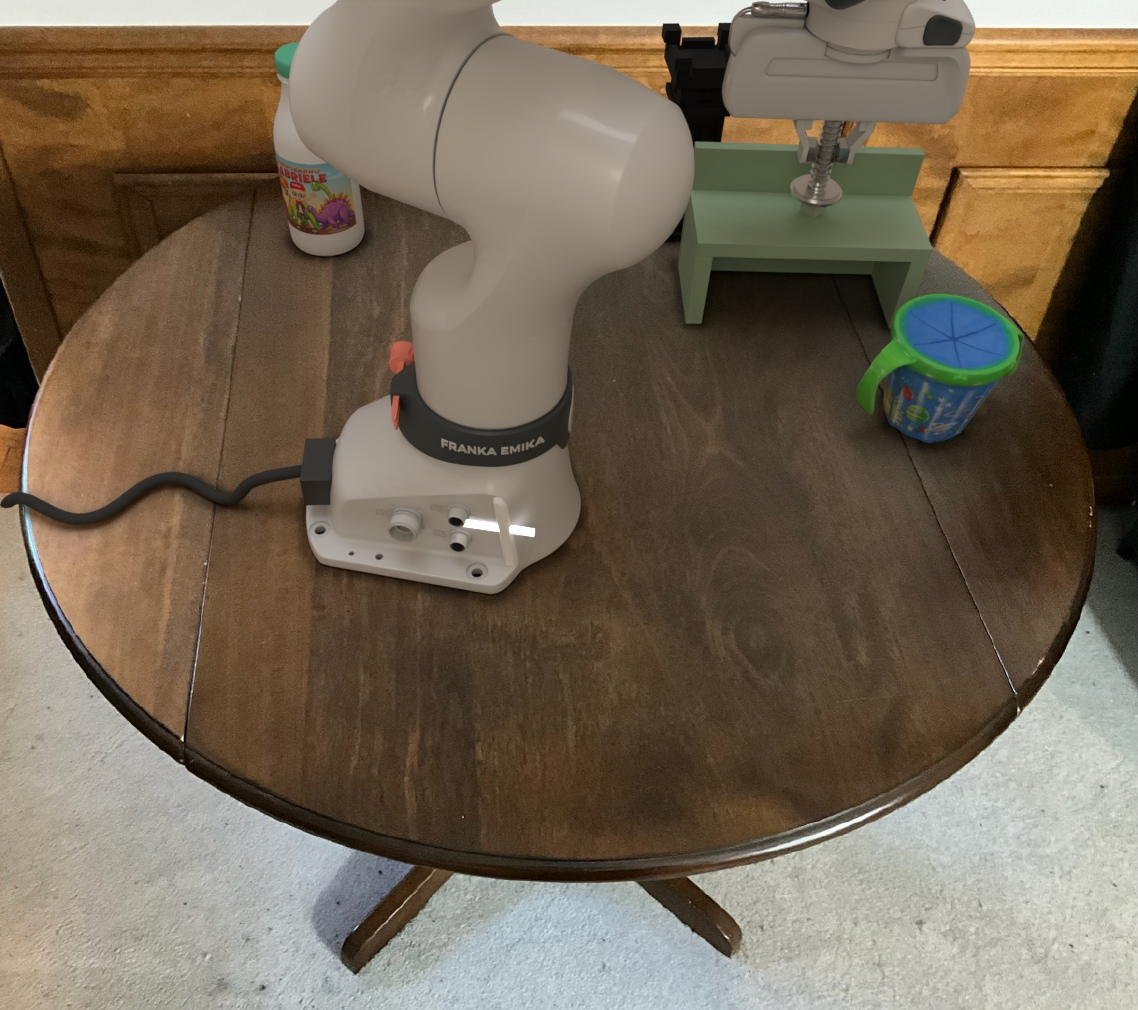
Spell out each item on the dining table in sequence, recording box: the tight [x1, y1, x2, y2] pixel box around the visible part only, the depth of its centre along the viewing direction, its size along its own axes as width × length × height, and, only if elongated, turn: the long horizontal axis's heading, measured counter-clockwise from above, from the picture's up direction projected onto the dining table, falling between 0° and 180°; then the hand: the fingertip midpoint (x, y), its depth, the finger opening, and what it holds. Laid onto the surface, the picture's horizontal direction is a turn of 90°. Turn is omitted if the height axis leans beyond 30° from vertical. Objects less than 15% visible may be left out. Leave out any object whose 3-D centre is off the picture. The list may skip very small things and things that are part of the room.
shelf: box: [677, 141, 933, 329], centre depth 102 cm, size 22×10×14 cm, turn 91°
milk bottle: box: [272, 41, 365, 257], centre depth 103 cm, size 8×8×20 cm
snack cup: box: [855, 293, 1025, 444], centre depth 92 cm, size 16×10×10 cm
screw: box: [789, 120, 845, 217], centre depth 93 cm, size 13×5×5 cm
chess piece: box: [661, 22, 731, 242], centre depth 107 cm, size 8×8×20 cm
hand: (824, 160), depth 94 cm, fingers closed on screw, 2 cm apart
